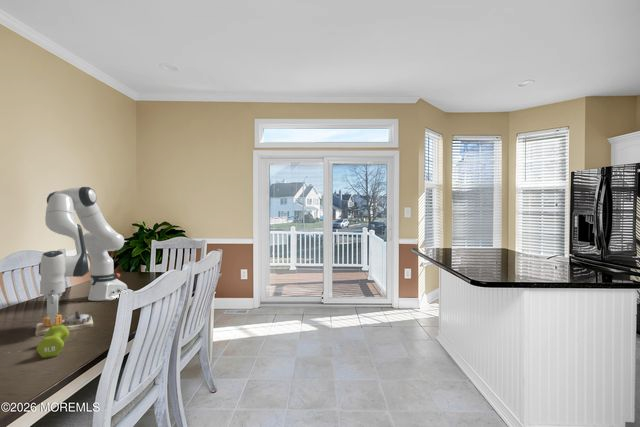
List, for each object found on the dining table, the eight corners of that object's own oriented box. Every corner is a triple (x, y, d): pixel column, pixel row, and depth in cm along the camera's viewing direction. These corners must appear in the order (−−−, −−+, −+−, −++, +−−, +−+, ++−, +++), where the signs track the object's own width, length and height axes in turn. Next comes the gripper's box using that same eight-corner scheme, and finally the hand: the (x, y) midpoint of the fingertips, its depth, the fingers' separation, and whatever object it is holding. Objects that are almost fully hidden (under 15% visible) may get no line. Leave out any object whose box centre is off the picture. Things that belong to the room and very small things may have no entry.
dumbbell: (63, 356, 123) (63, 336, 123) (35, 360, 119) (35, 340, 119) (70, 340, 137) (70, 322, 137) (45, 344, 134) (45, 325, 133)
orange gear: (43, 322, 150) (43, 316, 150) (62, 320, 154) (62, 313, 154) (42, 327, 144) (42, 320, 144) (62, 324, 149) (62, 317, 148)
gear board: (91, 318, 163) (91, 306, 163) (93, 326, 153) (93, 313, 153) (37, 327, 151) (37, 313, 151) (35, 336, 141) (35, 321, 141)
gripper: (62, 292, 143) (61, 325, 143) (61, 283, 159) (61, 312, 159) (42, 294, 139) (42, 328, 139) (44, 284, 155) (44, 314, 155)
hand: (52, 319), depth 149 cm, fingers closed on orange gear, 6 cm apart
